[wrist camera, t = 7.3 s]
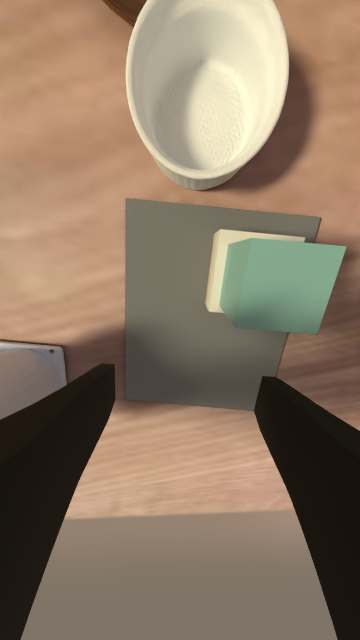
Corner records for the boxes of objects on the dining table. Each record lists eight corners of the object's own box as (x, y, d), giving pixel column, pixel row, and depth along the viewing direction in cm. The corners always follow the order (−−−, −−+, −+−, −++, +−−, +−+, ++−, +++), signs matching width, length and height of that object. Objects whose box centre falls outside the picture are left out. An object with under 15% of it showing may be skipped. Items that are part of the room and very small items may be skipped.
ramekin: (133, 58, 13) (110, -30, 9) (262, 41, 13) (299, -60, 9) (150, 203, 16) (138, 185, 12) (257, 192, 16) (283, 170, 12)
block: (218, 305, 15) (234, 327, 10) (228, 244, 14) (251, 237, 9) (275, 310, 15) (317, 334, 10) (290, 249, 14) (346, 246, 9)
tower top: (206, 306, 17) (208, 311, 15) (216, 231, 15) (220, 229, 13) (274, 313, 17) (283, 318, 15) (293, 239, 15) (305, 237, 14)
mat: (126, 397, 22) (125, 399, 22) (126, 199, 16) (125, 198, 16) (263, 409, 22) (264, 411, 22) (318, 218, 16) (320, 217, 16)
